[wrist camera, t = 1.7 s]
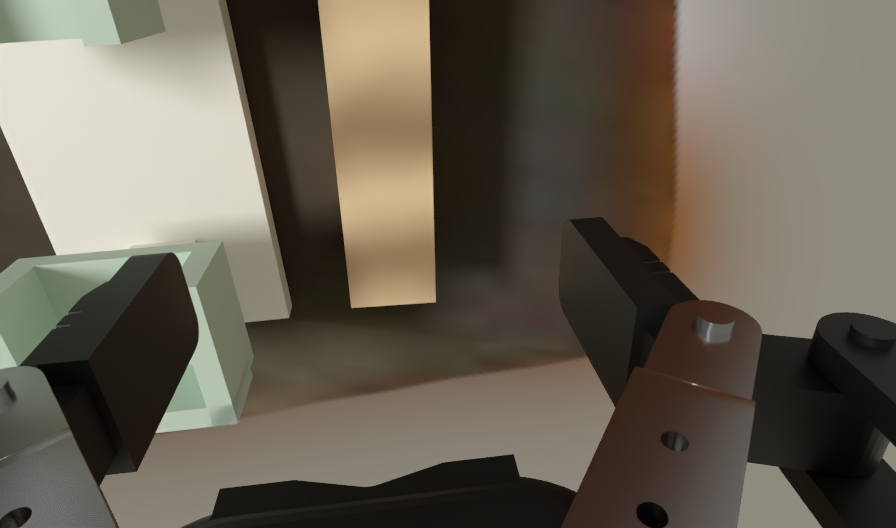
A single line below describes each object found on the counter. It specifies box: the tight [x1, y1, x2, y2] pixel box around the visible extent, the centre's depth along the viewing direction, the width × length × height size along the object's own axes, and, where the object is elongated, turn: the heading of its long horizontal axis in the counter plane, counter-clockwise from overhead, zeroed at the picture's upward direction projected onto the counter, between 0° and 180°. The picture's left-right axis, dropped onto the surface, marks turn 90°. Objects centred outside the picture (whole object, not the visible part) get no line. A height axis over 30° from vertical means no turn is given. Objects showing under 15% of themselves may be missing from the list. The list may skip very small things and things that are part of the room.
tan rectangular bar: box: [318, 0, 436, 308], centre depth 24 cm, size 17×4×4 cm, turn 1°
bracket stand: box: [0, 0, 292, 433], centre depth 21 cm, size 21×10×9 cm, turn 3°
